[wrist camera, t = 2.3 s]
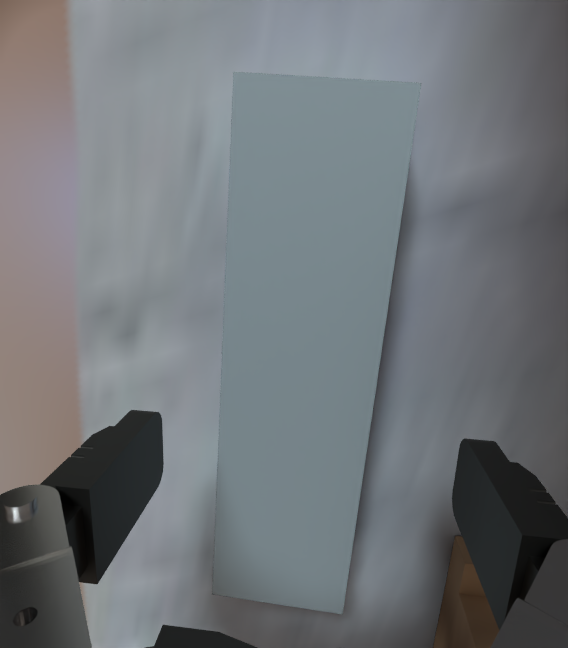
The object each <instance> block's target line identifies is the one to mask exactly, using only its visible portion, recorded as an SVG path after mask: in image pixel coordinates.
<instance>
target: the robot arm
mask: <svg viewBox="0 0 568 648" xmlns="http://www.w3.org/2000/svg"><path fill="white" fill-rule="evenodd" d="M162 473H163V436H162V418H161V415H160V413H159V412H150V411H138V410H131V411H130V412H128V413H127V414H126V415H125V416H124V417H123V418H122V419H121V420H120V421H119V422H118V423H117V424H116V425H115V426H109V427H107V428H105V429H103V430H101V431H99V432H97V433H95V434H93V435H92V436H91V437H90V438H89V439H87V440H86V441H85V442H84V443H83V444H82V445H81V448H78V449H77V450H76V451H75V452H74V453H73V454H72V455H71V457H69V458H67V459H66V461H64V462H63V463H62V464H61V465H60V466H59V467H58V468H57V469H56V470H55V471H54V472H53V473H52V474H51V475H49V477H47V478H46V479H45V480H44V481H43V482H42V483H41V484H40V485H28V486H23V487H19V488H15V489H12V490H10V491H7V492H5V493H3V494H1V495H0V648H92V646H91V641H90V636H89V631H88V626H87V621H86V616H85V611H84V606H83V601H82V595H81V590H80V585H79V582H83V583H91V584H98V582H99V581H100V579H101V578H102V576H103V574H104V573H105V571H106V570H107V568H108V566H109V565H110V563H111V562H112V560H113V558H114V557H115V555H116V554H117V552H118V550H119V549H120V547H121V546H122V544H123V542H124V541H125V539H126V538H127V536H128V534H129V533H130V531H131V529H132V528H133V526H134V525H135V523H136V521H137V520H138V518H139V517H140V515H141V513H142V512H143V510H144V509H145V507H146V505H147V504H148V502H149V501H150V499H151V497H152V496H153V494H154V493H155V491H156V489H157V488H158V486H159V484H160V481H161V477H162ZM452 504H453V512H454V516H455V519H456V522H457V524H458V527H459V530H460V532H461V535H462V537H463V540H464V542H465V545H466V547H467V550H468V552H469V555H470V557H471V560H472V562H473V565H474V567H475V570H476V572H477V575H478V578H479V580H480V583H481V585H482V588H483V590H484V593H485V595H486V598H487V600H488V603H489V605H490V608H491V610H492V613H493V615H494V618H495V621H496V623H497V626H498V628H499V632H498V634H497V636H496V638H495V640H494V642H493V644H492V646H491V648H568V518H567V517H566V515H565V514H564V513H563V511H562V510H561V509H560V508H559V506H558V505H555V501H554V500H553V498H552V497H551V496H550V494H549V493H546V489H545V488H544V486H543V485H542V484H541V482H540V481H539V480H538V478H537V477H536V476H535V475H534V474H532V473H531V472H530V471H528V470H527V469H525V468H524V467H523V466H521V465H520V464H518V463H514V462H509V460H508V459H507V457H506V456H505V455H504V453H503V452H502V450H501V449H500V447H499V446H498V445H497V443H496V442H494V441H485V440H474V439H463V440H462V441H461V444H460V448H459V454H458V461H457V467H456V473H455V480H454V486H453V494H452ZM146 648H257V647H254V646H252V645H249V644H247V643H245V642H242V641H240V640H237V639H235V638H232V637H230V636H227V635H225V634H222V633H220V632H214V631H206V630H199V629H191V628H183V627H175V626H168V625H163V626H162V628H161V631H160V633H159V635H158V638H157V640H156V643H155V645H154V646H153V647H146Z"/></svg>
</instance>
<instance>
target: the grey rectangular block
mask: <svg viewBox="0 0 568 648" xmlns="http://www.w3.org/2000/svg"><path fill="white" fill-rule="evenodd" d="M420 89H421V83H412V82H395V81H379V80H362V79H345V78H329V77H312V76H295V75H279V74H262V73H245V72H233V95H232V120H231V144H230V169H229V194H228V218H227V243H226V267H225V292H224V317H223V341H222V366H221V391H220V415H219V440H218V465H217V489H216V514H215V539H214V563H213V588H212V594H213V595H219V596H226V597H232V598H239V599H245V600H252V601H258V602H265V603H271V604H278V605H284V606H291V607H297V608H304V609H310V610H317V611H323V612H330V613H336V614H343V608H344V601H345V594H346V588H347V581H348V574H349V567H350V561H351V554H352V547H353V541H354V534H355V527H356V520H357V514H358V507H359V500H360V493H361V487H362V480H363V473H364V466H365V460H366V453H367V446H368V439H369V433H370V426H371V419H372V412H373V406H374V399H375V392H376V386H377V379H378V372H379V365H380V359H381V352H382V345H383V338H384V332H385V325H386V318H387V311H388V305H389V298H390V291H391V284H392V278H393V271H394V264H395V257H396V251H397V244H398V237H399V230H400V224H401V217H402V210H403V204H404V197H405V190H406V183H407V177H408V170H409V163H410V156H411V150H412V143H413V136H414V129H415V123H416V116H417V109H418V102H419V96H420Z"/></svg>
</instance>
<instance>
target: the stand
mask: <svg viewBox="0 0 568 648" xmlns="http://www.w3.org/2000/svg"><path fill="white" fill-rule="evenodd" d="M498 632H499V628H498V626H497V623H496V621H495V618H494V615H493V613H492V610H491V608H490V605H489V603H488V600H487V598H486V595H485V593H484V590H483V588H482V585H481V583H480V580H479V578H478V575H477V572H476V570H475V567H474V565H473V562H472V560H471V557H470V555H469V552H468V550H467V547H466V545H465V542H464V540H463V537H462V536H455V539H454V544H453V549H452V555H451V560H450V565H449V570H448V575H447V580H446V585H445V590H444V595H443V600H442V605H441V610H440V615H439V620H438V625H437V630H436V635H435V641H434V646H433V648H491V646H492V644H493V642H494V640H495V638H496V636H497V634H498Z"/></svg>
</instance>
